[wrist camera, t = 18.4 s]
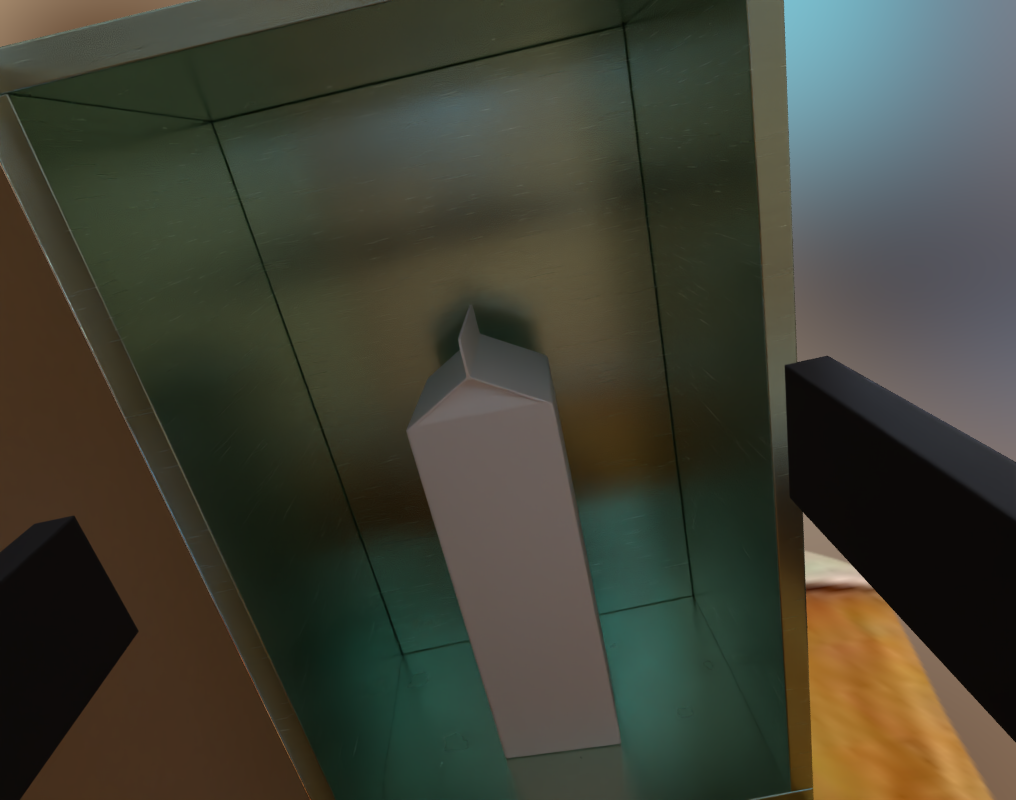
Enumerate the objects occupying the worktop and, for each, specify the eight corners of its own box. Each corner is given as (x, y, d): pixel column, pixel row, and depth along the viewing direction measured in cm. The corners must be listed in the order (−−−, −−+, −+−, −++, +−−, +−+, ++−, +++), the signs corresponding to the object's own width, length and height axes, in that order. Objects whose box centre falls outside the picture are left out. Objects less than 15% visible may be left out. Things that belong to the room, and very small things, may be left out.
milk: (505, 761, 31) (377, 357, 23) (508, 667, 37) (405, 316, 29) (625, 745, 31) (536, 324, 22) (609, 652, 36) (533, 288, 28)
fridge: (814, 803, 27) (779, -143, 15) (354, 890, 28) (-52, 58, 15) (705, 594, 40) (637, -1, 28) (393, 657, 41) (190, 104, 28)
